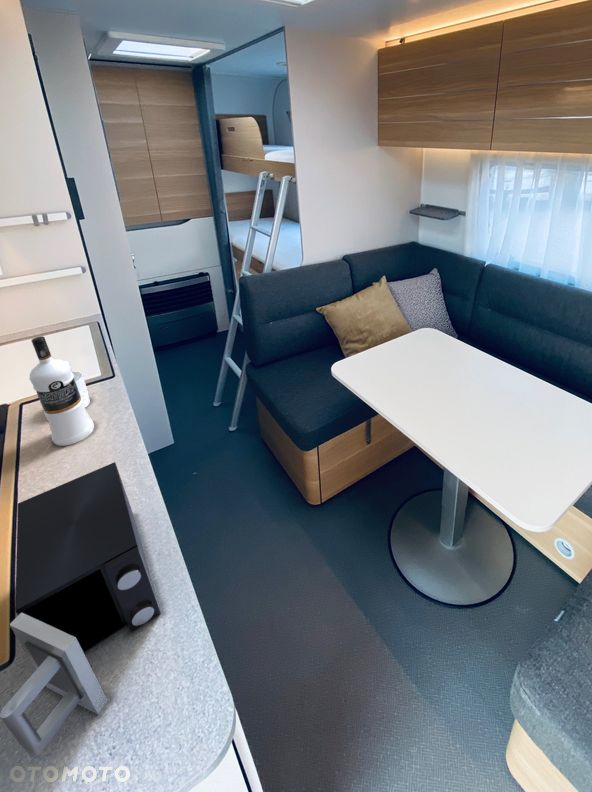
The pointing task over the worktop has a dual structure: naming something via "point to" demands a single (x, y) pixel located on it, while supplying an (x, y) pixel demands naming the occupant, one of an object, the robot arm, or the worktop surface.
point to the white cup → (81, 387)
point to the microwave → (83, 560)
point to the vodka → (59, 397)
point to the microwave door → (50, 682)
